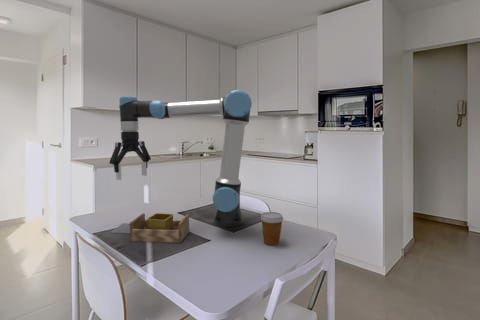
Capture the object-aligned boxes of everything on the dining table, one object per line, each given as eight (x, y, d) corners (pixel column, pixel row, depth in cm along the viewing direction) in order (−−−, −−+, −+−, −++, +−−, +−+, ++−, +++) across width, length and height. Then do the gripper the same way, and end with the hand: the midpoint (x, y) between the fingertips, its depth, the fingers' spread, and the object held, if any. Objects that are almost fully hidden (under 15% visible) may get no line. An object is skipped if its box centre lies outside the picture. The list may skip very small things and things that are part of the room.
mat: (148, 224, 146) (148, 223, 146) (137, 234, 133) (137, 233, 133) (123, 224, 147) (123, 223, 147) (109, 233, 134) (109, 232, 134)
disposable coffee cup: (277, 248, 117) (277, 219, 115) (256, 243, 122) (256, 215, 120) (286, 241, 125) (287, 213, 123) (266, 236, 130) (266, 210, 128)
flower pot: (165, 240, 125) (165, 220, 125) (147, 238, 127) (146, 218, 126) (174, 233, 134) (173, 214, 133) (156, 231, 136) (156, 213, 135)
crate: (189, 231, 137) (188, 214, 136) (180, 242, 123) (180, 224, 122) (143, 229, 138) (142, 213, 138) (130, 241, 124) (129, 222, 124)
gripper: (146, 130, 145) (148, 173, 147) (98, 131, 124) (101, 180, 126) (157, 130, 141) (158, 174, 143) (109, 131, 120) (112, 182, 122)
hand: (132, 177), depth 135 cm, fingers open, 13 cm apart
